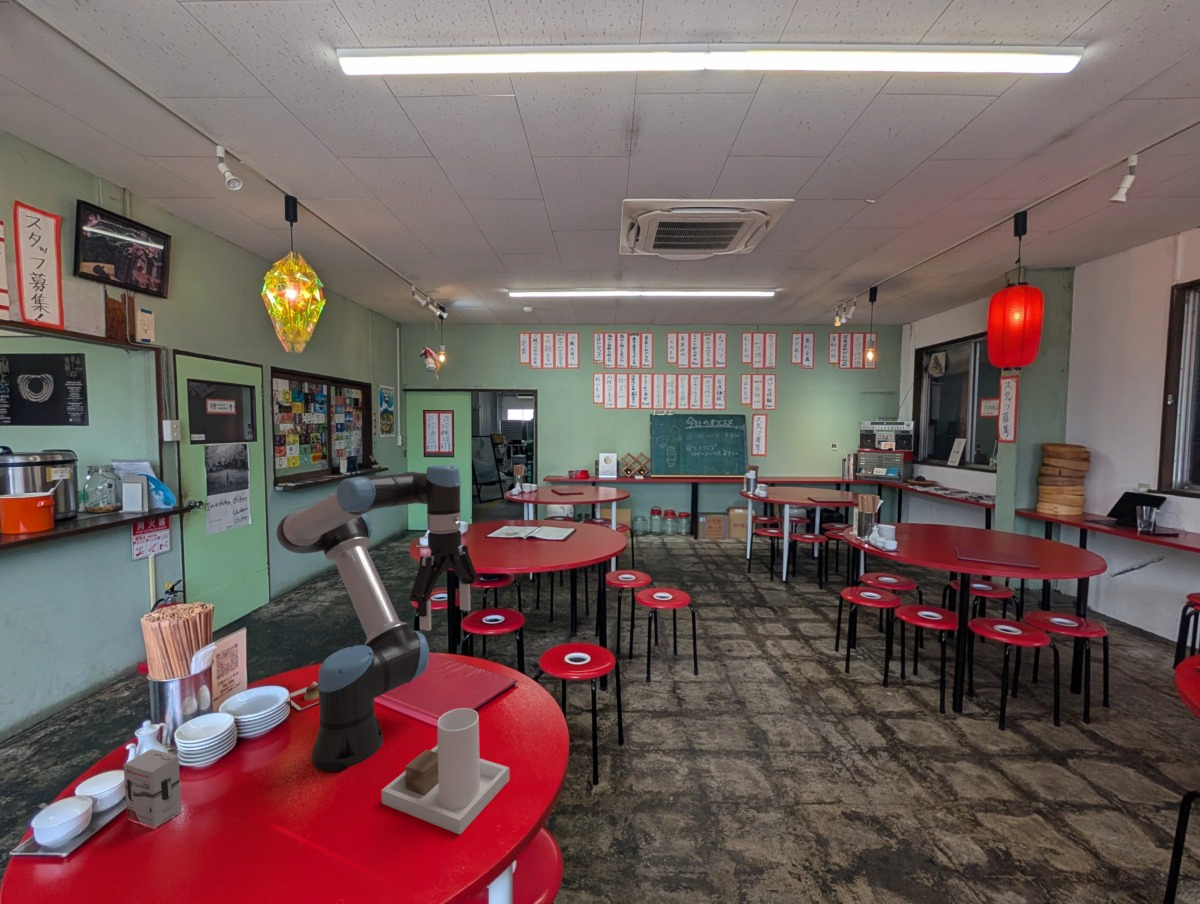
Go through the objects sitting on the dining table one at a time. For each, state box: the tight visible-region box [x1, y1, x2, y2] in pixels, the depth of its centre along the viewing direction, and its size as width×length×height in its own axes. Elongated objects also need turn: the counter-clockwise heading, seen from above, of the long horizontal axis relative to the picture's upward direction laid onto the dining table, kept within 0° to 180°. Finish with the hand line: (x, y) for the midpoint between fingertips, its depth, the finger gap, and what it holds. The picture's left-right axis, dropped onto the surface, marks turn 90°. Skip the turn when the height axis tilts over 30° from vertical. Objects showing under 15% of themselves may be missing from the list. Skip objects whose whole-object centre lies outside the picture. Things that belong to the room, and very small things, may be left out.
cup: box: [436, 707, 480, 809], centre depth 102 cm, size 8×8×16 cm
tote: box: [381, 744, 510, 835], centre depth 104 cm, size 20×16×4 cm
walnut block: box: [405, 749, 439, 796], centre depth 106 cm, size 5×6×5 cm
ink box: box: [123, 748, 182, 828], centre depth 99 cm, size 8×5×12 cm, turn 72°
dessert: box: [289, 681, 319, 711], centre depth 144 cm, size 12×12×5 cm
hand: (446, 619), depth 118 cm, fingers open, 13 cm apart
